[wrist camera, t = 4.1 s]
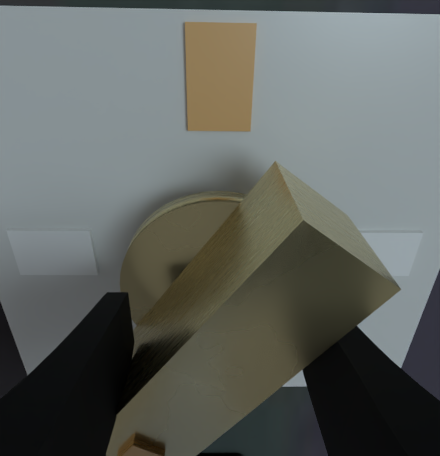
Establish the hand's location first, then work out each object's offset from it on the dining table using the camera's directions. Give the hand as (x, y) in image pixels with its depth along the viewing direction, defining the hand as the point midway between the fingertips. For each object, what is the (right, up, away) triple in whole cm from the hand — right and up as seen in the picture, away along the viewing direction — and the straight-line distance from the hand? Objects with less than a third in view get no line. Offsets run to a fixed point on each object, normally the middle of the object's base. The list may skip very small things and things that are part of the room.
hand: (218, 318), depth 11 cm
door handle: (0, +1, +2) cm, 2 cm away
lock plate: (0, +2, +4) cm, 5 cm away
